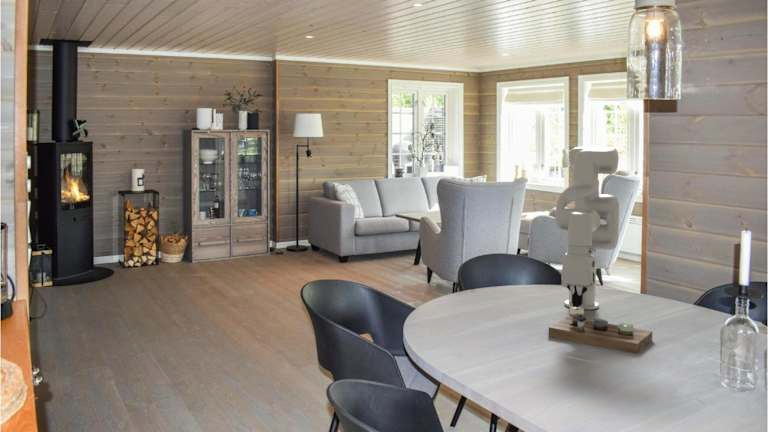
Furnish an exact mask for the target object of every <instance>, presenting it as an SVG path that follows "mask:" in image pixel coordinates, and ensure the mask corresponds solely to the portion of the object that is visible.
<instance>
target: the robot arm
mask: <svg viewBox="0 0 768 432" xmlns="http://www.w3.org/2000/svg"><path fill="white" fill-rule="evenodd" d="M568 163H569V167H570V169H571V171H572V172H571V173H572V178H571V179H572V180H571V181H572V182H571V184H570V185H569V186H567V187H566V188H565V189H564V190H563V191H562V192H561V193H560V195H559V196H558V198H557V201H556V206H555V213H554V225H555V227H556V229H558V230H560V231H562V232H563V231H564V232H567V245H566V246H567V251H566V253H565V254H564V258H563V263H562V267H561V283H560V284H561V287H564V288H565V289H568V299H567V300H565V301H564V306H565V307H567V308H570V307H581V308H583V309H584V311H589V310H590V311H592V310H596V309H598V308H599V307H600V304H599V303H598V302H597V301H596V296H597V293H596V279H597V266H598V265H597V264H598V263H597V259H596V256H595V255H594V254H593V253H596V250H606V251H612V250H614V249H616V247H617V246H618V241H619V225H620V224H619V222H620V202H619V200H618V198H617V197H616V196H615V195H613V194H600V193H599V191H600V190H599V189H600V180H599V174H600V175H601V174H602V175H613V174H615V173H616V172H617V170H618V167H619V152H618V150H617V148H615V147H610V146H609V147H608V146H607V147H604V146H603V147H602V146H576V147H573V148H571V149H570V150H569V153H568ZM572 202H574V208H570V207H569V208H566V207H567V206H568V205H569V204H571V203H572ZM601 221H604V222H605V223H601Z"/></svg>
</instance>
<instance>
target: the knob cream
mask: <svg viewBox="0 0 768 432" xmlns="http://www.w3.org/2000/svg"><path fill="white" fill-rule="evenodd" d="M584 311H585V310H584V309H583V308H581V307H569V316H568V317H572V318H573V319H572V324H573V325H578V320H576V315H584ZM584 316H585V315H584Z"/></svg>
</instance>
